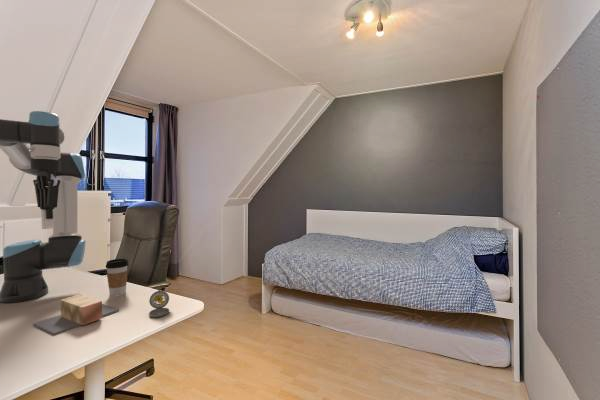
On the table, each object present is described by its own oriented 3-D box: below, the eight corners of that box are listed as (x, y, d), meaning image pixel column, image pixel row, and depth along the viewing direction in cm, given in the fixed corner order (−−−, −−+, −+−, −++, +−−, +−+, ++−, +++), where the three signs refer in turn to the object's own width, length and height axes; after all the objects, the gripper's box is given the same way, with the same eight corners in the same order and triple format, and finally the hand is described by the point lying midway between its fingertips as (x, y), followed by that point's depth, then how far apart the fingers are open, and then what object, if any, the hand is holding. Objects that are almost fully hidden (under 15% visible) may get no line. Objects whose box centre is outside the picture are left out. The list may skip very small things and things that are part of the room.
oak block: (82, 325, 94) (61, 316, 100) (102, 317, 99) (80, 310, 105) (82, 307, 93) (60, 299, 100) (101, 301, 99) (80, 294, 105)
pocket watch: (155, 320, 99) (155, 292, 99) (142, 314, 104) (142, 287, 103) (176, 311, 106) (176, 285, 106) (163, 306, 110) (163, 281, 110)
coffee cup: (118, 298, 118) (117, 262, 118) (101, 296, 120) (100, 261, 119) (133, 291, 127) (133, 258, 126) (117, 289, 128) (117, 257, 128)
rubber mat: (33, 325, 95) (33, 323, 95) (98, 303, 113) (98, 302, 113) (53, 335, 88) (53, 333, 88) (119, 310, 106) (119, 309, 106)
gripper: (22, 158, 95) (24, 228, 96) (40, 157, 89) (43, 231, 90) (50, 160, 101) (52, 225, 102) (69, 159, 96) (70, 228, 96)
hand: (47, 228), depth 96 cm, fingers closed
